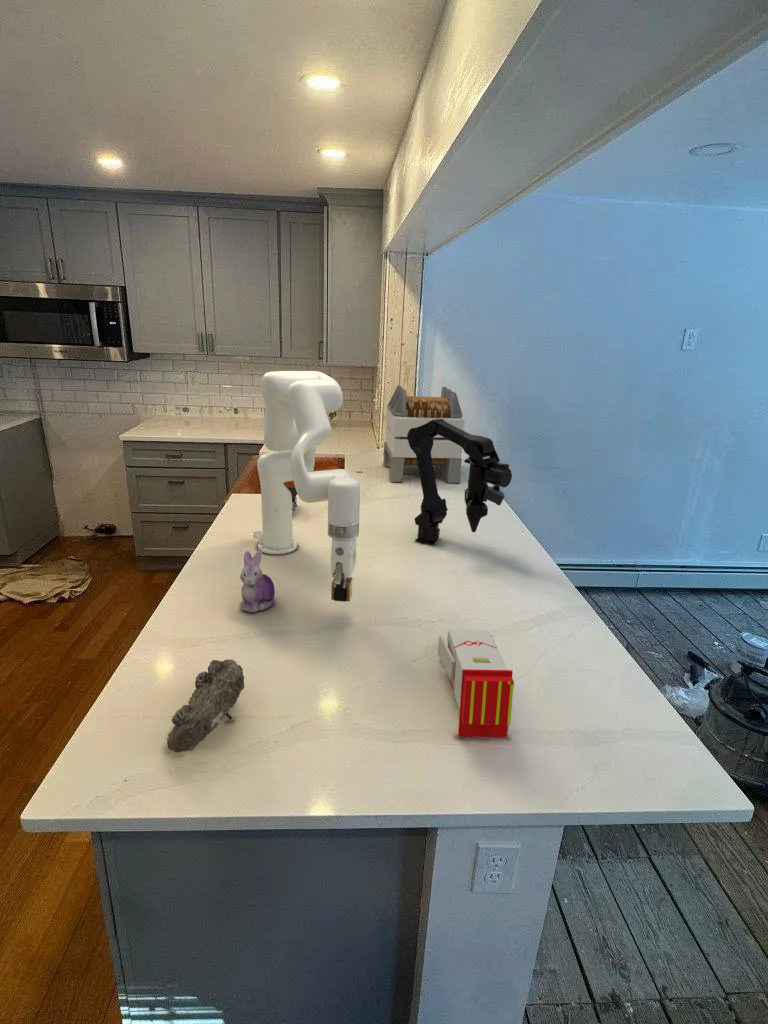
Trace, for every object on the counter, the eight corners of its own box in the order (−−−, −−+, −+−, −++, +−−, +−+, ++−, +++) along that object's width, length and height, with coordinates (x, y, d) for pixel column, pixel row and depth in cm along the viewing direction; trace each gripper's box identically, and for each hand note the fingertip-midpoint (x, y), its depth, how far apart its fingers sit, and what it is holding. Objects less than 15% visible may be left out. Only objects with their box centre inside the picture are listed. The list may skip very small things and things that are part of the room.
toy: (488, 613, 130) (523, 677, 101) (484, 667, 133) (517, 744, 104) (435, 612, 130) (455, 676, 101) (432, 666, 133) (451, 743, 103)
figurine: (245, 617, 142) (242, 562, 137) (235, 598, 151) (232, 547, 146) (281, 609, 147) (280, 556, 142) (270, 592, 155) (268, 541, 150)
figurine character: (295, 520, 211) (299, 503, 225) (294, 502, 208) (299, 485, 221) (277, 519, 211) (282, 502, 224) (276, 501, 208) (282, 485, 221)
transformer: (382, 463, 289) (386, 382, 275) (445, 464, 293) (451, 384, 279) (390, 482, 257) (394, 392, 243) (460, 483, 261) (468, 394, 247)
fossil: (192, 660, 117) (244, 628, 112) (224, 691, 120) (276, 661, 115) (142, 746, 98) (202, 712, 93) (182, 779, 101) (242, 748, 96)
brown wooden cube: (349, 601, 141) (350, 584, 139) (331, 600, 141) (331, 582, 140) (352, 593, 145) (352, 577, 143) (334, 592, 145) (334, 575, 144)
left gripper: (353, 543, 129) (351, 614, 135) (363, 517, 144) (361, 582, 151) (320, 540, 129) (320, 611, 135) (334, 515, 145) (333, 579, 151)
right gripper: (507, 490, 164) (501, 539, 170) (501, 472, 182) (496, 518, 187) (469, 487, 165) (464, 537, 170) (466, 470, 183) (462, 515, 188)
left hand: (341, 595), depth 143 cm, fingers closed on brown wooden cube, 4 cm apart
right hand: (472, 526), depth 179 cm, fingers open, 9 cm apart
